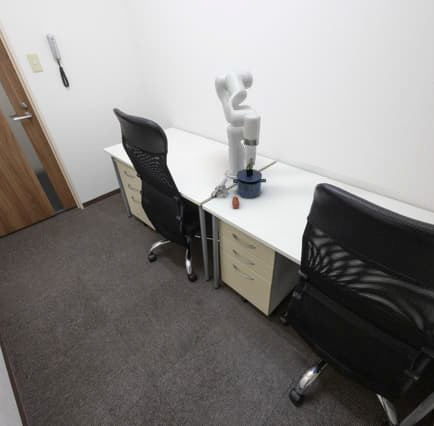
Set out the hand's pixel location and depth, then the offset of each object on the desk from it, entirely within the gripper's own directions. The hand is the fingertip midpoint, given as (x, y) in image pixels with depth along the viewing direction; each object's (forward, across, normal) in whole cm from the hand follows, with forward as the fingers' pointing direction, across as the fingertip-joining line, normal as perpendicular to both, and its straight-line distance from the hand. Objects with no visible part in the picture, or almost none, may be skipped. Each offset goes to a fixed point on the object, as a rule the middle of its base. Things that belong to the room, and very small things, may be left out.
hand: (249, 174), depth 126 cm
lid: (+1, 0, 0) cm, 1 cm away
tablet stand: (+11, +2, -16) cm, 20 cm away
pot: (+11, +1, 0) cm, 11 cm away
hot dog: (+11, +13, -8) cm, 19 cm away
